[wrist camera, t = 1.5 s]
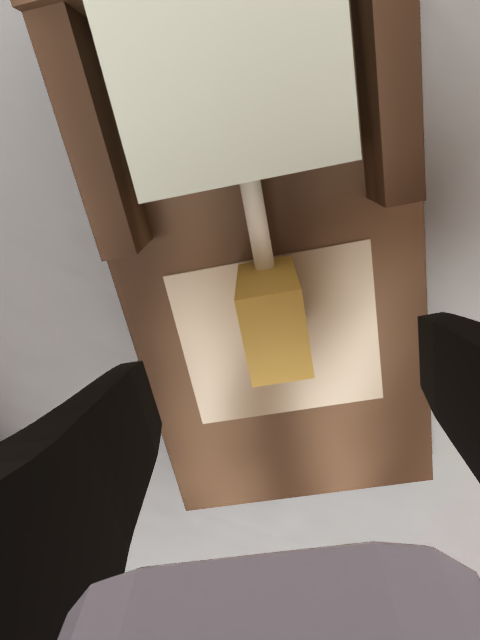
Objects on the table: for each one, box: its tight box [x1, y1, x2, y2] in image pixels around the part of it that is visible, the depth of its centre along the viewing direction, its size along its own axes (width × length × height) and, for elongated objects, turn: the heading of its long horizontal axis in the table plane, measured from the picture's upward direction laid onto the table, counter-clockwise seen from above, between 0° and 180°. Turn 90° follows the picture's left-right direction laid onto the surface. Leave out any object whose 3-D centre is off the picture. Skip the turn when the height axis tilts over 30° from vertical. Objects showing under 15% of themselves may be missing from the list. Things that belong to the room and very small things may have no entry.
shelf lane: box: [10, 0, 433, 511], centre depth 16 cm, size 12×22×4 cm, turn 11°
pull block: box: [83, 0, 362, 388], centre depth 14 cm, size 6×11×4 cm, turn 11°
